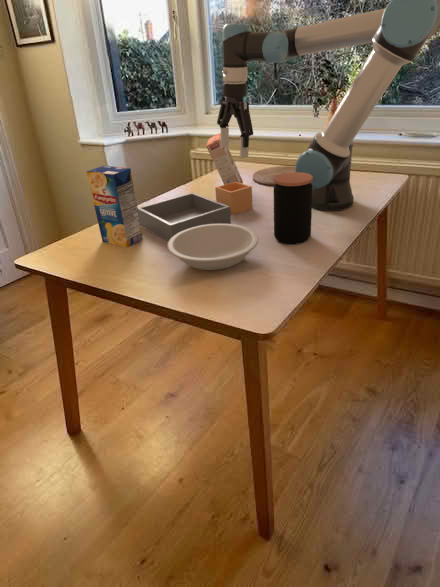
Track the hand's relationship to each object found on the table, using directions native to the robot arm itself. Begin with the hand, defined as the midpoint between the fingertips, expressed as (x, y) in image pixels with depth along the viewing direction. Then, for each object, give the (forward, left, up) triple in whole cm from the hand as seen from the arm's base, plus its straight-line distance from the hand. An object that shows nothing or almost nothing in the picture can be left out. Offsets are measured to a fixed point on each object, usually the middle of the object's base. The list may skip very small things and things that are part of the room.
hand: (233, 152), depth 145 cm
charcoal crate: (-1, +23, -19) cm, 30 cm away
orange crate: (-1, +2, -19) cm, 19 cm away
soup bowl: (-31, +32, -19) cm, 49 cm away
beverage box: (+2, +44, -19) cm, 48 cm away
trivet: (+14, -36, -20) cm, 43 cm away
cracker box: (+14, -11, -18) cm, 25 cm away
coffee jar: (-34, +6, -19) cm, 40 cm away
